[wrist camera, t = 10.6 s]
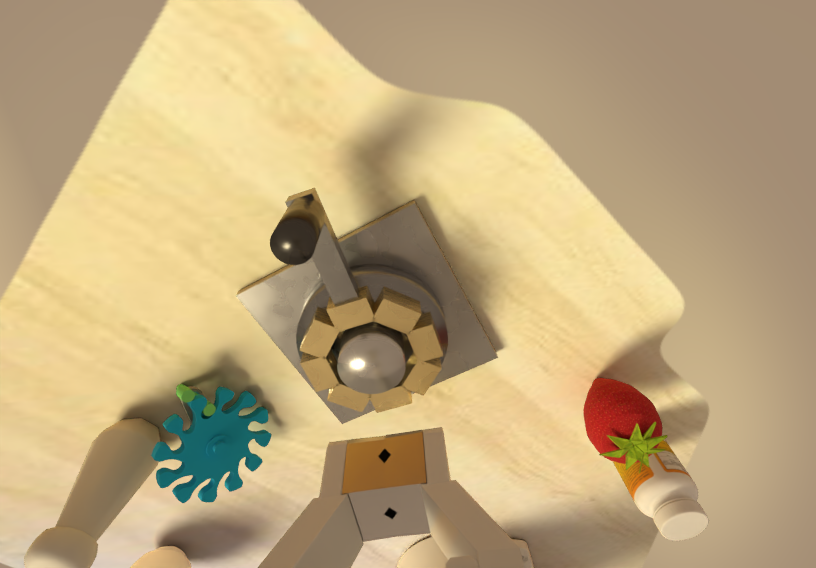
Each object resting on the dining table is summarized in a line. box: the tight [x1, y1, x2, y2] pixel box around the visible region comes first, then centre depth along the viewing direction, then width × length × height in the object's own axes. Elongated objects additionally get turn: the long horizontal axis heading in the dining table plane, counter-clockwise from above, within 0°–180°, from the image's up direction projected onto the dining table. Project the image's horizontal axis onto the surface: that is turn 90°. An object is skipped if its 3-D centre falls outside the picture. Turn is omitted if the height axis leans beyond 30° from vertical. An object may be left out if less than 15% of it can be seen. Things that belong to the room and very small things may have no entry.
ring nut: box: [270, 188, 443, 413], centre depth 31 cm, size 10×18×6 cm, turn 18°
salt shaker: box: [24, 418, 160, 568], centre depth 38 cm, size 6×6×13 cm
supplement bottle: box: [613, 439, 709, 541], centre depth 42 cm, size 5×5×10 cm
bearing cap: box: [236, 200, 498, 424], centre depth 36 cm, size 16×16×6 cm
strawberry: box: [584, 378, 668, 473], centre depth 38 cm, size 6×8×10 cm
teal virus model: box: [151, 384, 271, 503], centre depth 41 cm, size 11×6×10 cm
